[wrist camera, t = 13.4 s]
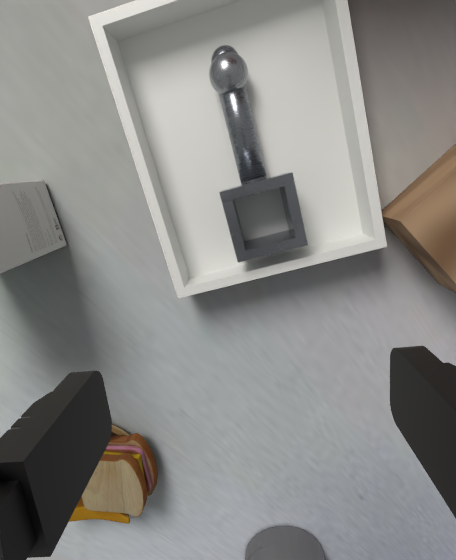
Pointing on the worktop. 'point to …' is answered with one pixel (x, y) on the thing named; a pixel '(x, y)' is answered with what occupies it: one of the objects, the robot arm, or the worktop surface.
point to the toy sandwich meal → (119, 480)
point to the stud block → (429, 219)
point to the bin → (268, 122)
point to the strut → (250, 162)
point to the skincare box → (27, 223)
